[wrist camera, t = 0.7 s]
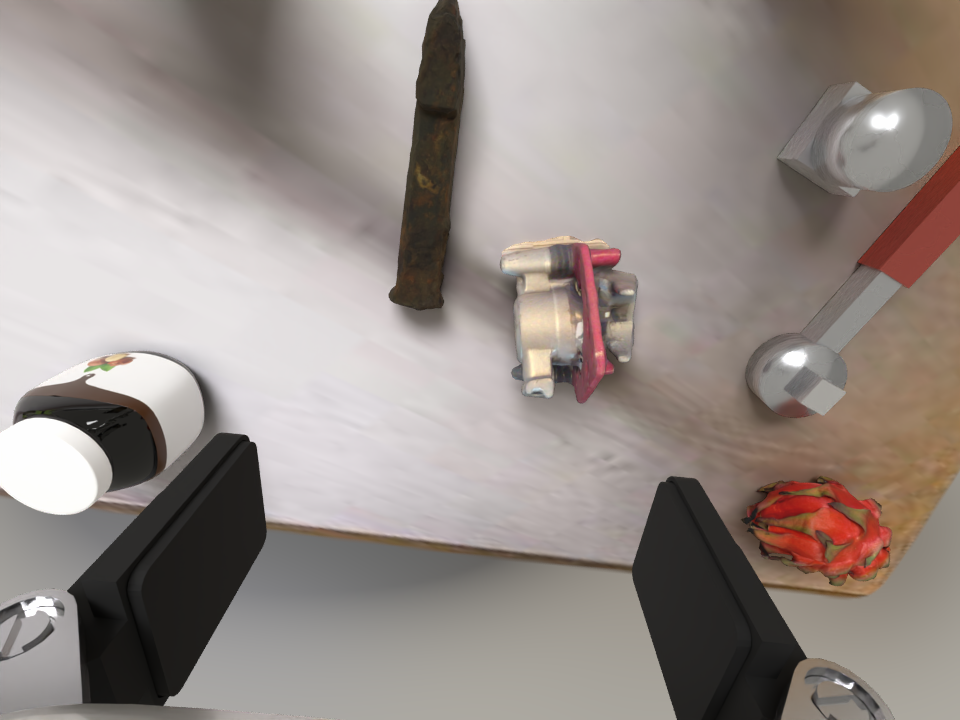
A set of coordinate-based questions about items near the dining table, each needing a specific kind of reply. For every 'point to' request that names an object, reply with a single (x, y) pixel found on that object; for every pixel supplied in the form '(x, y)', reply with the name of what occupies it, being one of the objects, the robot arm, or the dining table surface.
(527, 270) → the brake caliper
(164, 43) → the dining table surface
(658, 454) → the dining table surface
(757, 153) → the dining table surface
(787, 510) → the dragon fruit
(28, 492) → the spread jar
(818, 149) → the socket
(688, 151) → the dining table surface
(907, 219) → the ratchet
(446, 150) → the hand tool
